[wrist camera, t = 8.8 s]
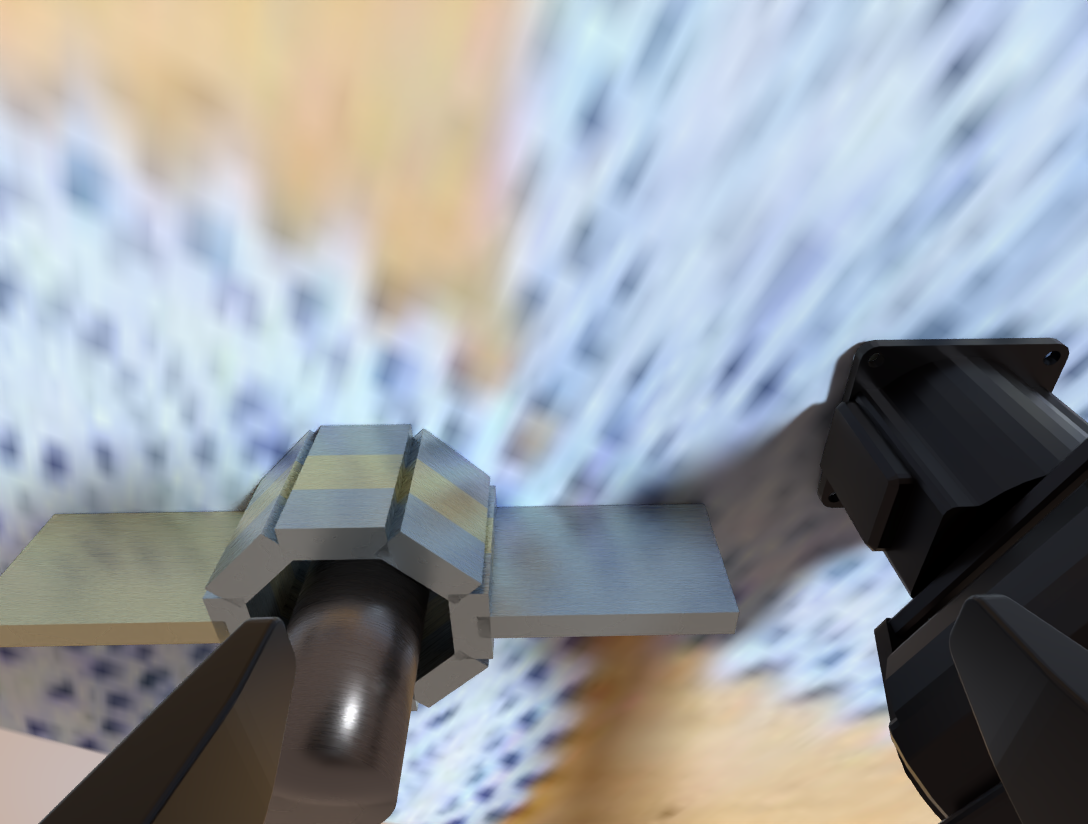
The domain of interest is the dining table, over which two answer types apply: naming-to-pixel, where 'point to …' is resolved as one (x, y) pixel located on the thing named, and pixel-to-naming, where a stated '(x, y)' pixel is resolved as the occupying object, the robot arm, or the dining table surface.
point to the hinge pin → (349, 693)
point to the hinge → (373, 533)
